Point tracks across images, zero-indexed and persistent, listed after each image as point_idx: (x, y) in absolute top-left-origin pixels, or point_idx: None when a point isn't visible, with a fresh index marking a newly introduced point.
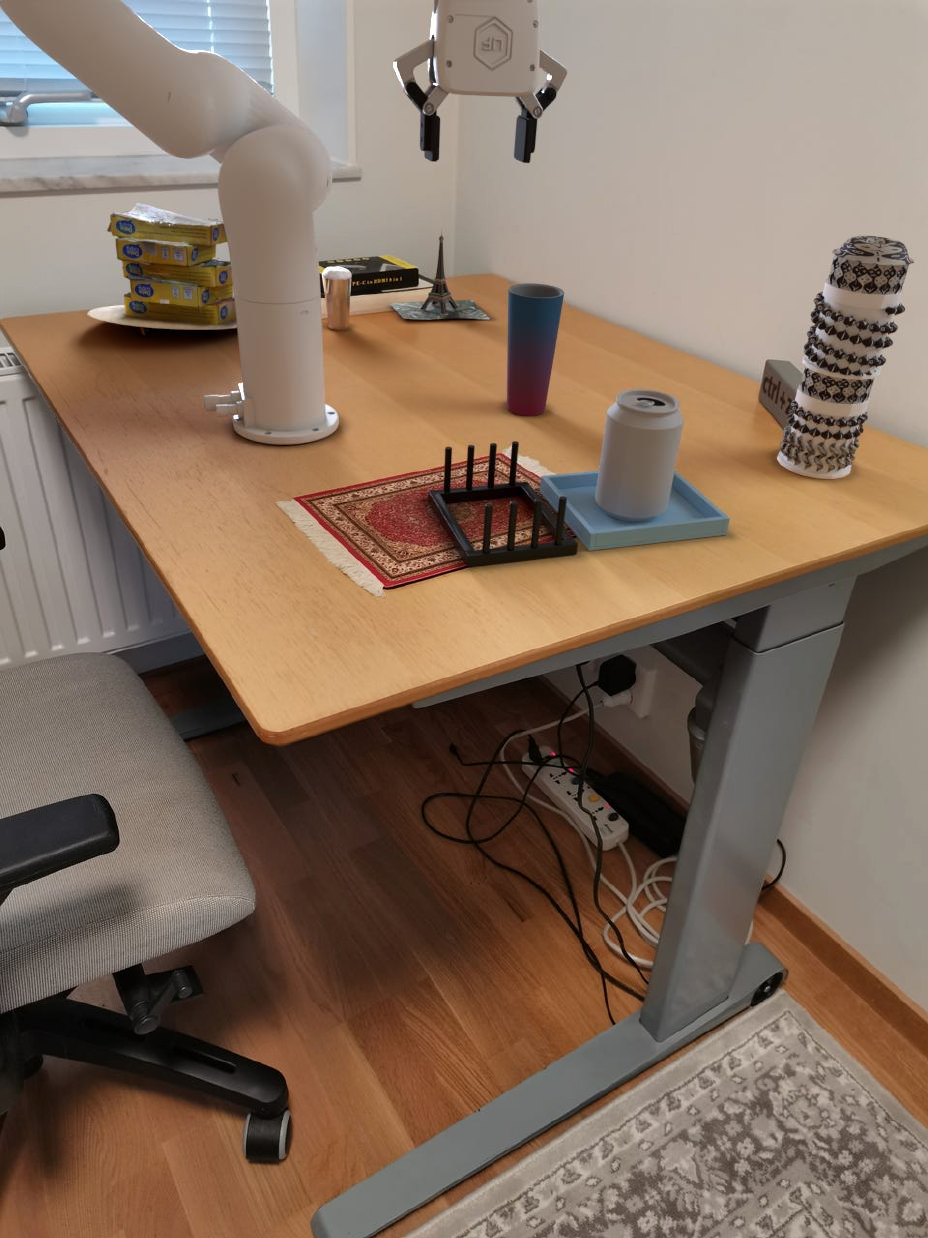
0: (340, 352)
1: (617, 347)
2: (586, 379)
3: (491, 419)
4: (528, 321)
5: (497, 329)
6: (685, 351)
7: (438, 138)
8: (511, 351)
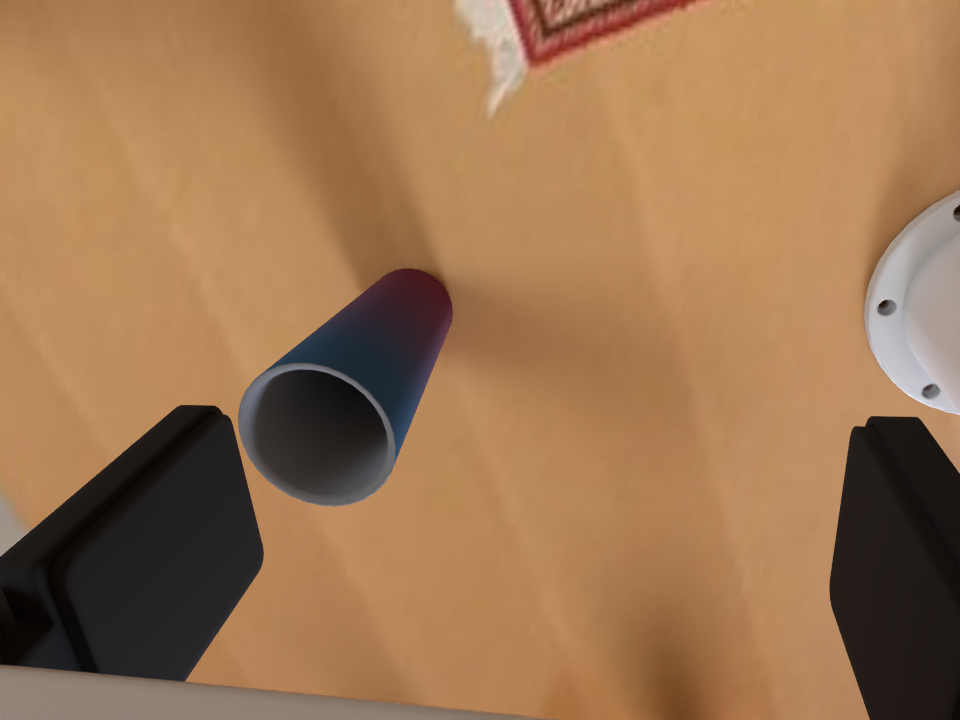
0: (731, 666)
1: None
2: None
3: (501, 264)
4: (368, 348)
5: None
6: None
7: (913, 506)
8: (424, 350)
